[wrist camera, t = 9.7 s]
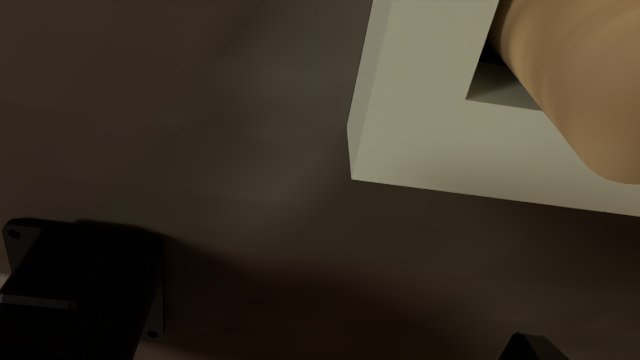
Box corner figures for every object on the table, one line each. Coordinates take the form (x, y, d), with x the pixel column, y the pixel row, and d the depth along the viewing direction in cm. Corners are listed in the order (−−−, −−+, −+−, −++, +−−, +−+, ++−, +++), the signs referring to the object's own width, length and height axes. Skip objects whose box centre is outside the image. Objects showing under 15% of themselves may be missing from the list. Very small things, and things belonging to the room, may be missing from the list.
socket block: (599, 161, 20) (645, 217, 17) (346, 126, 19) (351, 179, 16) (782, -178, 14) (902, -179, 11) (425, -251, 13) (456, -273, 10)
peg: (560, 58, 18) (702, 194, 11) (459, 43, 18) (544, 172, 11) (609, -53, 16) (815, 32, 9) (496, -73, 16) (626, 1, 9)
